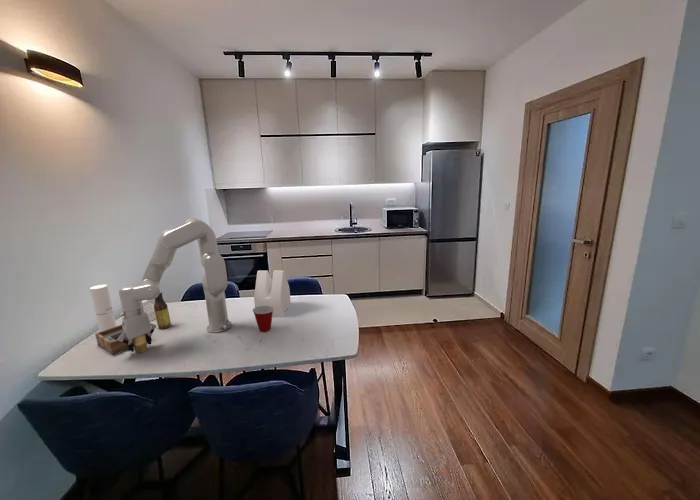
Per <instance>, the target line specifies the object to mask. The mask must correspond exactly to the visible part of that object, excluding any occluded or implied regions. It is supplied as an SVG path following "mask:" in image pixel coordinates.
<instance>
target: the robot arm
mask: <svg viewBox="0 0 700 500" xmlns="http://www.w3.org/2000/svg"><path fill="white" fill-rule="evenodd" d="M194 241H197V243H198V250H199V255H200V256H199V257H200V264H201V266H202V267H203V268H204V272H205V273H204V274H203V276H202V278H201V283H202V287H203V293H204V299H205V304H206V312H207V319H208V325H207V326H206V332H208V333H211V334H213V333H216V334H217V333H222V332H225V331H227V330H229V329H230V328H231V327H232V325H233V323H232V321H230V320H229V316H228V308H227V302H226V293H225V290H226V289H227V287H228V276H227V268H226V267H227V265H226V261H225V259H224V258H223V256H222V255H221V254H220V253H219V247H218V241H217V237H216V234H215V232H214V230H213V229H212V228H211V227H210V225H209V224H207V223H206V222H204V221H203V220H200V219H198V218H196V217H191V218H187V220H185V221H184V224H183V225H180V226H179V227H177V228H174V229H172V228H171V229H169V228H168V229H165V230H163V231H162V232H161V233H160V235H159V237H158V239H157V242H156V245H155V247H154V250H153V252H152V254H151V257H150V260H149V261H148V264H147V266H146V268H145V270H144V272H143V275H142V278H141V280H140V284H139V286H138V285H137V284H129V285H125V286H122V287H120V288H119V290H118V295H119V300H120V304H121V309H122V312H121V313H119V317H122V319H121V320H122V323H121V325H122V328H123V332H122V334H121V335H120V336H119V337H118V339H117V340H118V341H120V342H123V343H126V344H127V346H128V349H127V350H128V351H130V352H131V353H133V352H134V353H135V350H134V347H133V344H132V343H131V342H132V339H133V338H136V337H138V336H141V335H143V334H147V335H146V342H147V345H152V342H153V340H152V335H153V333H154V332H155V330H156V328H157V324H155V323H151V321H149V318H148V315H147V313H146V312H145V311H144V310H143V305H142V300H149V301H151V300H155V298H157V297H158V296H159V294H160V292H161V288H160V282H161V279H162V278H163V275H164V273H165V271H166V270H167V269H168V268H169V267H170V266H171V265H172V262H173V260H174V258H175V254H176V252H177V249H180V248H182V247H184V246H187V245H188V244H190V243H193V242H194ZM123 337H127V339H126V340H124V339H123Z"/></svg>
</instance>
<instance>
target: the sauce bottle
mask: <svg viewBox="0 0 700 500" xmlns="http://www.w3.org/2000/svg"><path fill="white" fill-rule="evenodd" d="M153 308H154V311H155V316H156V318H155V320H156V323H157V324H156V326H157V327H158V329H161V330H162V329H163V330H164V329H167V328H170V327H171V326H172V322H171V317H170V313H169V308H168V305H167V303H166V301H165V300H164V297H163V292H162V291H160V294H159V296H158V297H157V298H155V299H154V304H153Z"/></svg>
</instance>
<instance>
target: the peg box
mask: <svg viewBox="0 0 700 500" xmlns="http://www.w3.org/2000/svg"><path fill="white" fill-rule="evenodd" d="M122 332H123V328H122V324H119V325H116V327H113V328H110V329H107V330H104V331H102V332H100V331H99V332H96V333H95V337H96V343H97V345H98V346H99V347H101V349H103V350H104V351H106V352H108V353H109V354H110V355H112V356H115V355H118V354H119V353H122V352H124V351H126V350H128V346H127V344H126V343H123V342H120V341H118V340H117V339H118V337H119V336H120V335H121V334H122ZM146 335H147V334H145V337H146ZM123 339H124V340H126V339H127V337H123ZM131 343H132V344H133V340H132V342H131ZM133 347H134V345H133Z"/></svg>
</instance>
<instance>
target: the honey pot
mask: <svg viewBox="0 0 700 500" xmlns="http://www.w3.org/2000/svg"><path fill="white" fill-rule="evenodd" d="M142 305H143V310H144V311H145V312H146V313H147V315H148V318H149V321H150V322H153V321H154V320H156V316H155V311H154V305H152V302H150V300H142Z"/></svg>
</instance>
